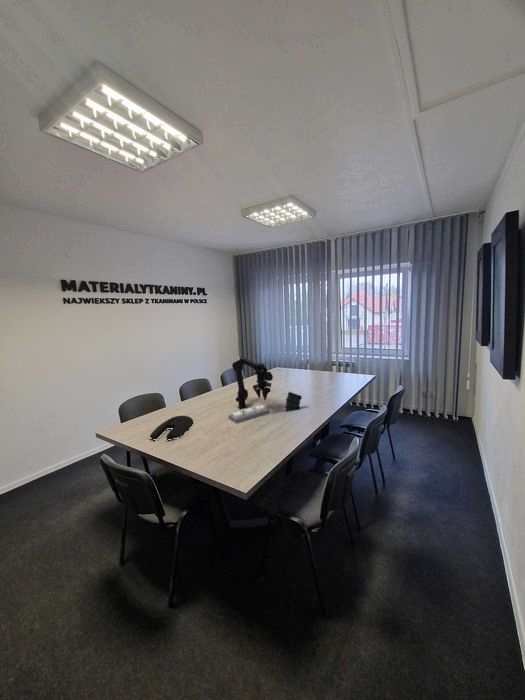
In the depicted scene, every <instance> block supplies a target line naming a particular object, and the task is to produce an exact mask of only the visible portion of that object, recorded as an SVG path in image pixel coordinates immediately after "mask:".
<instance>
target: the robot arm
mask: <svg viewBox="0 0 525 700" xmlns="http://www.w3.org/2000/svg"><path fill="white" fill-rule="evenodd" d="M231 365H232V366H231V367H232V370H233V371H234V372H235V377H236V380H237V381H236V382H237V387H238V390H237V397H236V398H235V401H236V402H237V403H238V406H237V408H238V409H240V410H242V409H247V408H248V406H246V405H247V404H246V401H247V400H248V397H249V391H248V389H246V388H245V383H244V378H243V372H242V371H243V367H244V365H245V366H247V367H250V368H252V369H253V371H255V372H254V375H256V381H255V382H256V384H254V385H252V389H253V390H254V391H255V393H256V395H257V397H258V398H259V399H261V395H262V397H263V400H264V401H266V400H267V398H268V394H269V393H270V392H271V388H272V383H271V382H270V381H272V380H273V378H274V376H273V374H272V372H271V371H268V370H267V369H268V368H266V366H265V364H264V363H261V362H255V361H252V360H250V359H248V358H246V357H242V358H239V359H238V360H237V361H234V362H233V363H232V364H231Z"/></svg>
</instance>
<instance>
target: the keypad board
mask: <svg viewBox="0 0 525 700" xmlns="http://www.w3.org/2000/svg"><path fill="white" fill-rule="evenodd" d="M252 409H254V410H255V407H253V408H252ZM241 412H242V413H243V414H244V416H242V417H238V418H235V417H234V416H233V413H231V414H228V419H229V420H230V421H232V422H233V423H235V424H240V423H244V422H246V421H249V420H252V419H256V418H258V417H263V416H265V415H269V414H270V413H271V409H269V408H266V407H265V410H262V411H257V410H255V413H252V414H249V415H248V414H246V413H244V410H242V411H241Z"/></svg>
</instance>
